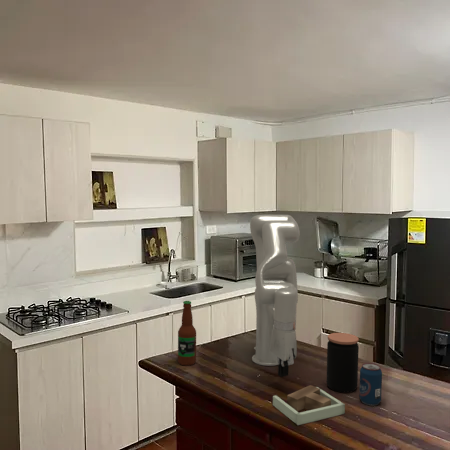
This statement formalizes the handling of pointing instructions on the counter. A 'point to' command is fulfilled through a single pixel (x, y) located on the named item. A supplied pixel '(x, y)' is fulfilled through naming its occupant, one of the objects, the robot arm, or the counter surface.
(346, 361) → the coffee jar
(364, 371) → the soda can
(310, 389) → the t block
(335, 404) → the frame
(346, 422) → the counter surface
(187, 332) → the bottle
